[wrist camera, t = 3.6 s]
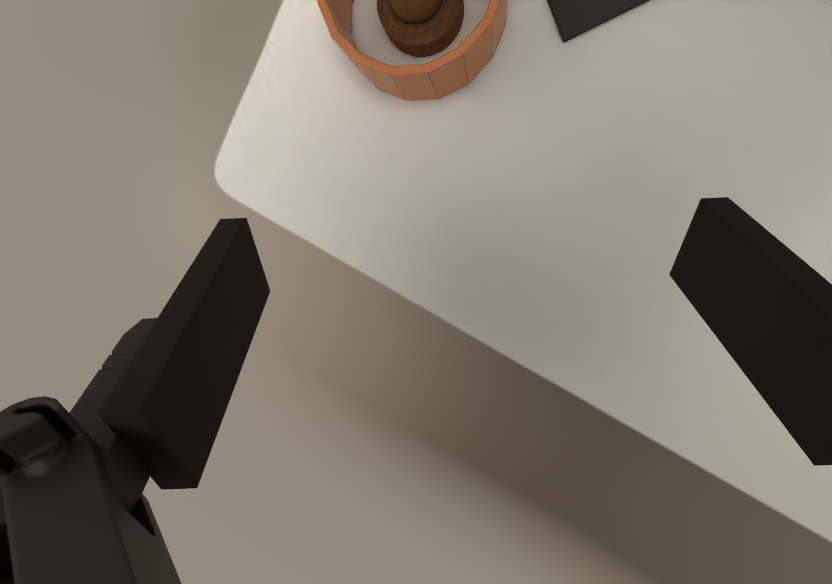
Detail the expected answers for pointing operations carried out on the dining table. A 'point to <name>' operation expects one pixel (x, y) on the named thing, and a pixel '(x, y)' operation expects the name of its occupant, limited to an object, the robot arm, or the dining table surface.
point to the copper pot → (427, 77)
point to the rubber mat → (586, 14)
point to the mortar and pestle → (421, 24)
